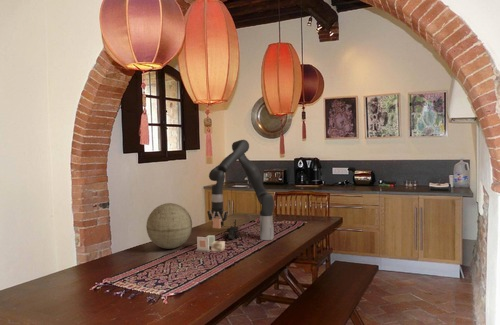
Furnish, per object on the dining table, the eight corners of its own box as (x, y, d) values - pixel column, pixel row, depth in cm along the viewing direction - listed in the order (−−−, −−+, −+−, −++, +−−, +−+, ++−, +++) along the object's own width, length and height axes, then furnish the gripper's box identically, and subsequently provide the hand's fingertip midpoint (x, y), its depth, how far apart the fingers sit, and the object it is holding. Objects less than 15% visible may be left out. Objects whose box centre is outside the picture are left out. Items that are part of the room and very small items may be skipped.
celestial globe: (138, 248, 271) (136, 203, 270) (175, 240, 293) (174, 198, 291) (163, 257, 250) (162, 208, 249) (201, 247, 272) (200, 202, 270)
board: (210, 251, 262) (210, 237, 262) (208, 252, 259) (208, 238, 259) (197, 250, 265) (197, 236, 265) (195, 251, 262) (195, 237, 262)
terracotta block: (222, 226, 266) (222, 217, 266) (219, 228, 261) (219, 219, 261) (215, 226, 268) (215, 217, 267) (212, 227, 263) (212, 218, 263)
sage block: (215, 243, 280) (214, 235, 280) (213, 245, 275) (213, 237, 275) (207, 243, 281) (207, 235, 280) (206, 245, 276) (206, 237, 275)
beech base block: (225, 248, 268) (224, 241, 268) (221, 251, 261) (221, 244, 261) (214, 248, 270) (214, 240, 269) (211, 251, 263) (211, 243, 263)
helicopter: (249, 237, 317) (250, 218, 319) (245, 240, 284) (245, 219, 286) (221, 237, 319) (221, 218, 321) (213, 240, 286) (214, 219, 288)
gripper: (229, 200, 265) (230, 226, 266) (209, 199, 269) (210, 224, 270) (225, 202, 258) (225, 228, 259) (204, 201, 262) (205, 227, 263)
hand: (217, 226), depth 265 cm, fingers closed on terracotta block, 5 cm apart
